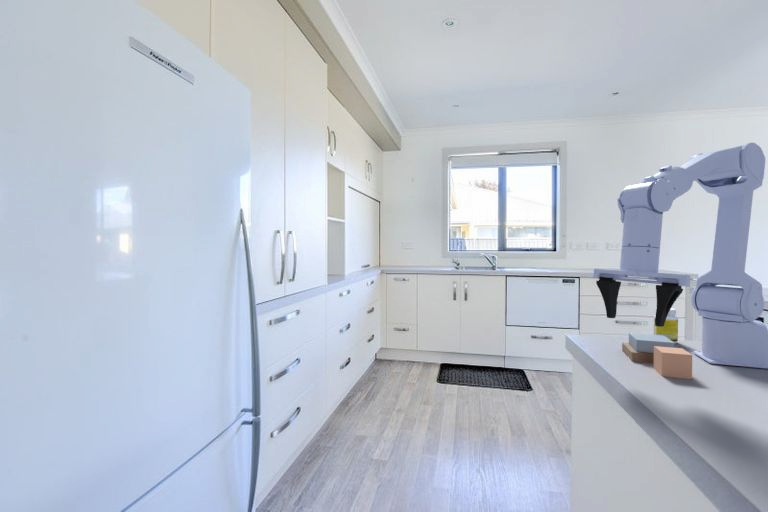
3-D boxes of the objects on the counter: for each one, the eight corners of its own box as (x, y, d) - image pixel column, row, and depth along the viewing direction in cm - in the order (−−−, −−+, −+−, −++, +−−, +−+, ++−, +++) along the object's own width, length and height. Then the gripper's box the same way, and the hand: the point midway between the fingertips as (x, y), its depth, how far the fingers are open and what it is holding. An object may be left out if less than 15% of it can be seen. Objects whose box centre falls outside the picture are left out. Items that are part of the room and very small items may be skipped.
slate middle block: (663, 346, 78) (663, 335, 78) (674, 355, 72) (674, 342, 72) (628, 343, 81) (628, 332, 80) (636, 351, 75) (636, 339, 75)
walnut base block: (664, 357, 79) (664, 345, 79) (678, 368, 71) (678, 356, 71) (622, 353, 82) (622, 342, 82) (631, 364, 74) (631, 352, 74)
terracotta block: (681, 371, 68) (682, 348, 68) (691, 379, 64) (692, 355, 64) (653, 368, 70) (653, 346, 70) (661, 376, 66) (661, 352, 65)
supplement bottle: (682, 344, 86) (682, 310, 86) (660, 343, 87) (660, 309, 87) (670, 339, 91) (670, 307, 91) (649, 338, 92) (650, 306, 92)
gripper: (588, 245, 68) (582, 314, 68) (683, 246, 57) (676, 331, 56) (604, 248, 72) (599, 314, 72) (696, 250, 61) (690, 329, 60)
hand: (634, 321), depth 65 cm, fingers open, 7 cm apart
